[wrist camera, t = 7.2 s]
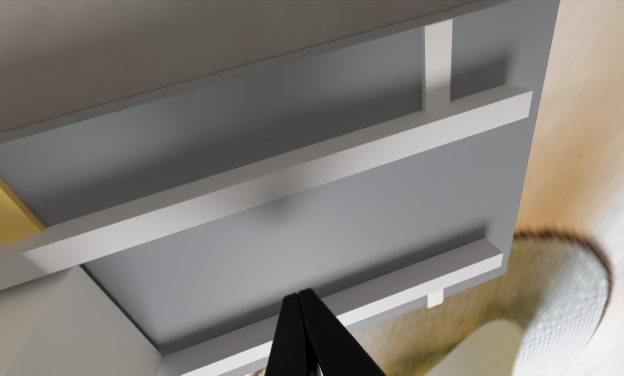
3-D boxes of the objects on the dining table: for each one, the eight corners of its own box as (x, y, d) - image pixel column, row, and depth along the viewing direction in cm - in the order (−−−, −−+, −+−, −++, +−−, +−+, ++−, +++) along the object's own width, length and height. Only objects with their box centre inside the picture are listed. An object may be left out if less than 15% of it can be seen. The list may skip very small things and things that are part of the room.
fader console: (505, -7, 10) (601, -17, 7) (476, 247, 16) (523, 289, 14) (-235, 197, 8) (-464, 283, 5) (66, 400, 14) (30, 485, 11)
